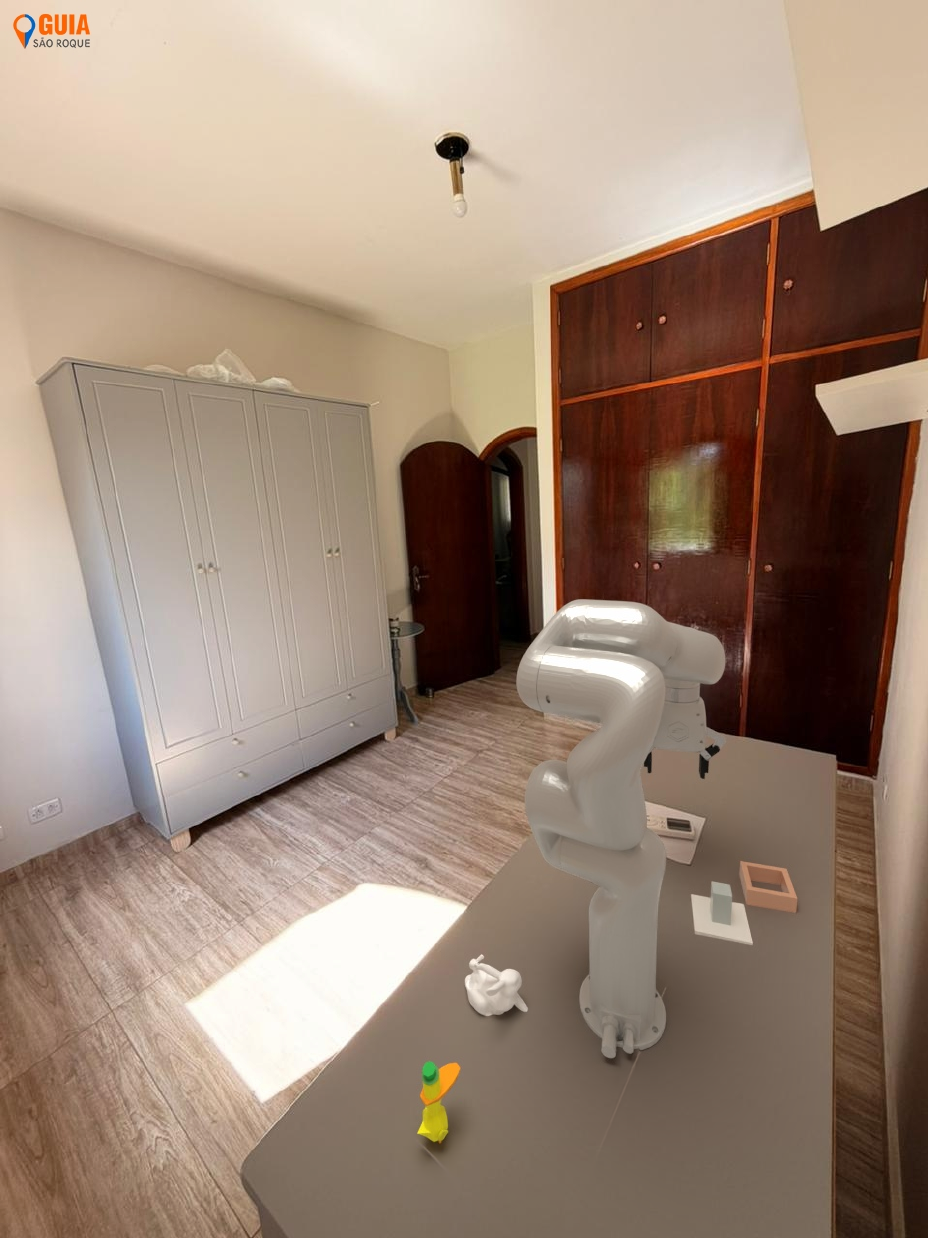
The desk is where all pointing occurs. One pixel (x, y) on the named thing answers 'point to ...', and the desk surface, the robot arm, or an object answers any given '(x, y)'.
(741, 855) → the desk surface
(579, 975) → the desk surface
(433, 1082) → the toy figure
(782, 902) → the square frame
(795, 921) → the desk surface
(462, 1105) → the desk surface
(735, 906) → the lid
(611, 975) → the robot arm
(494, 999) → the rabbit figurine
